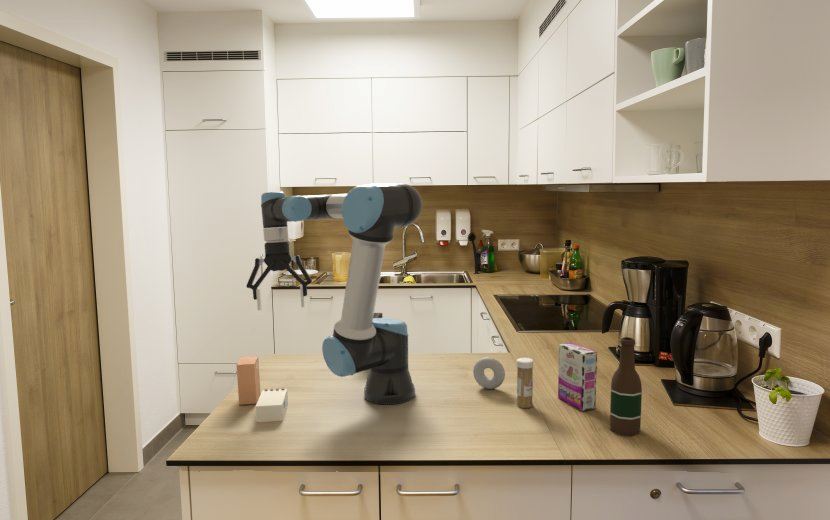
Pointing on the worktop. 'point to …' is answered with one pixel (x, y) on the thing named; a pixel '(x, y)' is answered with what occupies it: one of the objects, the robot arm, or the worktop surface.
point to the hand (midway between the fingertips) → (281, 308)
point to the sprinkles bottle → (524, 382)
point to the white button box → (272, 405)
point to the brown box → (248, 380)
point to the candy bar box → (577, 376)
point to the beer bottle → (626, 393)
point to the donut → (497, 369)
